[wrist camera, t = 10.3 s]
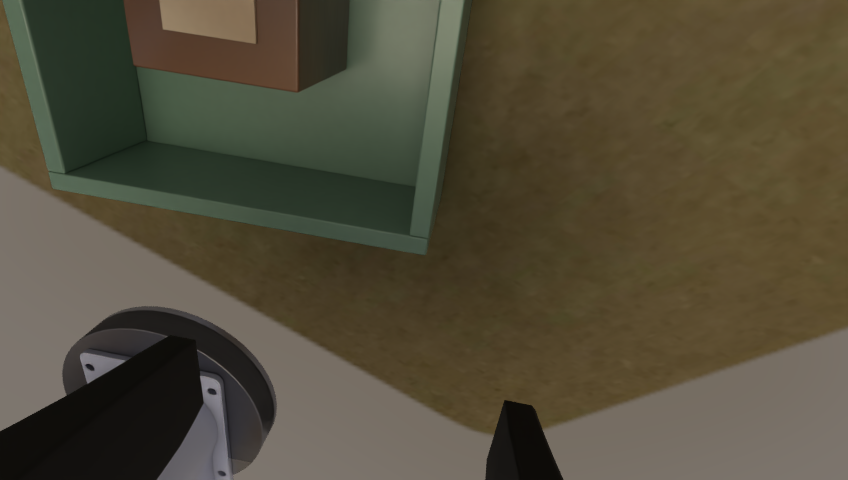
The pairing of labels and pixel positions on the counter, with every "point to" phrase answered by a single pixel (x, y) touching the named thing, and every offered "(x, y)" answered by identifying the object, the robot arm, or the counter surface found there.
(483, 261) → the counter surface
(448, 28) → the tray
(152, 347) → the robot arm
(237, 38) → the letter block
